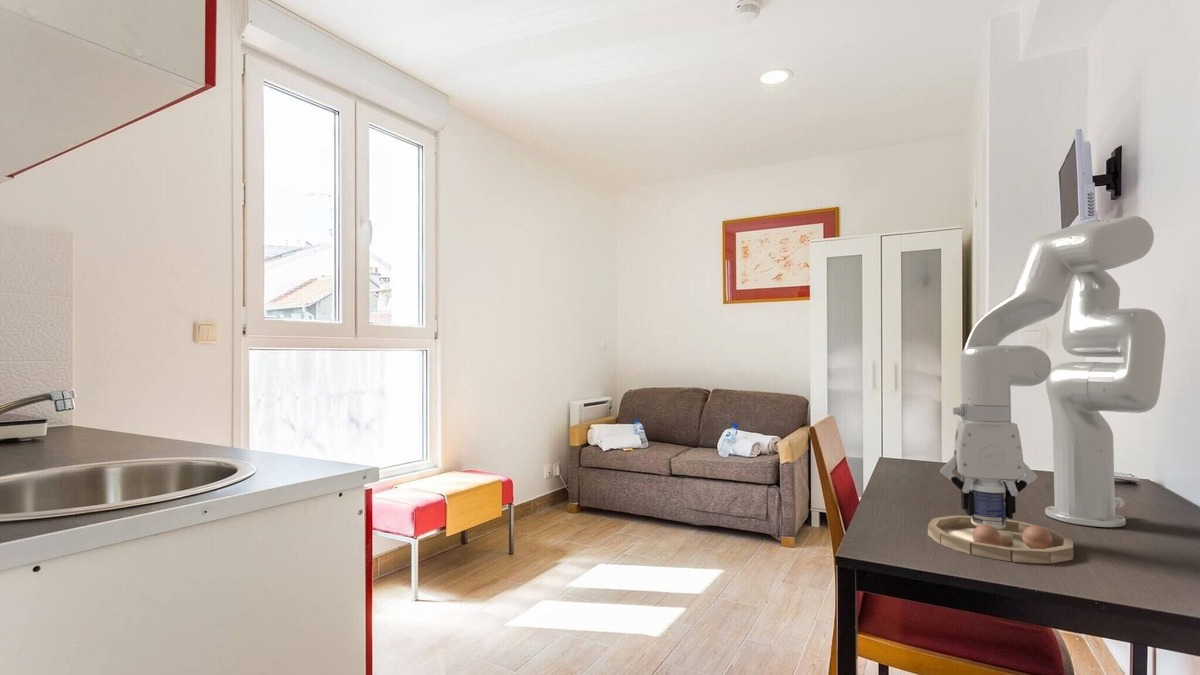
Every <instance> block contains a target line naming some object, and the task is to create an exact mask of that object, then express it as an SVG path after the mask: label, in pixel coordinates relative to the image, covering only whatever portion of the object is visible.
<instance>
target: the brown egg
mask: <svg viewBox="0 0 1200 675" xmlns="http://www.w3.org/2000/svg"><path fill="white" fill-rule="evenodd" d="M972 536H973V540H974V542H978V543H984V544H991V545H997V546H999V545H1000V543H1001V535H1000V533H999V532H998V530H997V529H995V528H994V527H992V526H990V525H986V524H983V525H979V526H977V527H976V528H975V529H974V530H973V534H972Z"/></svg>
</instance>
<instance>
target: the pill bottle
mask: <svg viewBox="0 0 1200 675" xmlns="http://www.w3.org/2000/svg"><path fill="white" fill-rule="evenodd" d="M1000 481H1001V482H1002V480H990V479H975V481H973V483H972V486H971V489H970V490H971V493H972V494H973V511H974V515H972V516H971V523H972V524H973V525H975V526H979V525H983V524H986V525H990V526H992V527H994V528H995V529H1003V528H1005V527H1006V519H1007V517H1006V490H1005V487H1004V485H1003V483H1002V484H1001V483H1000Z"/></svg>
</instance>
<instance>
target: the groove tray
mask: <svg viewBox="0 0 1200 675" xmlns="http://www.w3.org/2000/svg"><path fill="white" fill-rule="evenodd" d="M1032 525H1034V524H1033V523H1029V522H1024V521H1019V520H1014V519H1008V518H1006V527H1005V528H1003V529H997V530H998V532H999V533H1000V535H1001V543H1000V545H999V546H997V545H991V544H984V543H978V542H974V540H973V536H972V534H973V530H974V529H975V528H976V527H977V526H975V525H973V524H972V523H971V516H969V515H947V516H939V517H934V518H932V519H931V520H930V522H928V524H927V535H928V537H930V538H931V539H932V540H933V541H935V542H936V543H938V544H939V545H941V546H943V547H944V546H945V547H947V548H949V549H952V550H955V551H958V552H962V553H965V554H968V555H972V556H977V557H983V558H987V559H992V560H999V561H1005V562H1010V563H1011V562H1012V563H1025V564H1027V563H1028V564H1057V563H1061V562H1062V563H1063V562H1065V561H1070V560H1074V539H1073V538H1071V537H1069V536H1067V535H1066V534H1063V533H1061V532H1059V531H1057V530H1054V529H1052V528H1048V527H1044V526H1042V527H1043V528H1045V529H1046V530H1047V531H1048V532H1049V533H1050V535H1051V537H1052V544H1051V546H1050V547H1049V548H1047V549H1031V548H1029V547H1028V546H1027V545H1026V544H1025V543H1024V541H1023V539H1022V533H1023V531H1024V529H1025V528H1027V527H1029V526H1032Z"/></svg>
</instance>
